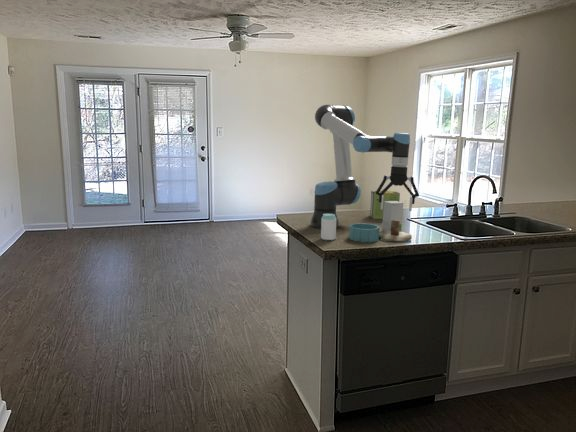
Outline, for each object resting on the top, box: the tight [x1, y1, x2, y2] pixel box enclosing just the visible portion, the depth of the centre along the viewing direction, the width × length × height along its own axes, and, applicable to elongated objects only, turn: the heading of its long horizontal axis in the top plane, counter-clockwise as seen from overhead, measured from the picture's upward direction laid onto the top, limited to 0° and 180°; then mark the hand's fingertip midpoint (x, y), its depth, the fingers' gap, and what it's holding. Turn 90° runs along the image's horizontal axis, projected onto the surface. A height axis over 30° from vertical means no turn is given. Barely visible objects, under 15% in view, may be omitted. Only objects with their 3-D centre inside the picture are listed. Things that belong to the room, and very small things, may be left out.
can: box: [320, 214, 337, 241], centre depth 226 cm, size 7×7×12 cm
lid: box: [379, 220, 413, 242], centre depth 231 cm, size 16×16×8 cm
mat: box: [379, 238, 412, 243], centre depth 232 cm, size 14×14×1 cm
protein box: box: [369, 190, 401, 220], centre depth 282 cm, size 10×15×16 cm
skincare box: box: [381, 201, 404, 232], centre depth 245 cm, size 8×7×16 cm
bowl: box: [348, 222, 380, 243], centre depth 229 cm, size 14×14×6 cm
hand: (395, 210), depth 230 cm, fingers open, 13 cm apart
